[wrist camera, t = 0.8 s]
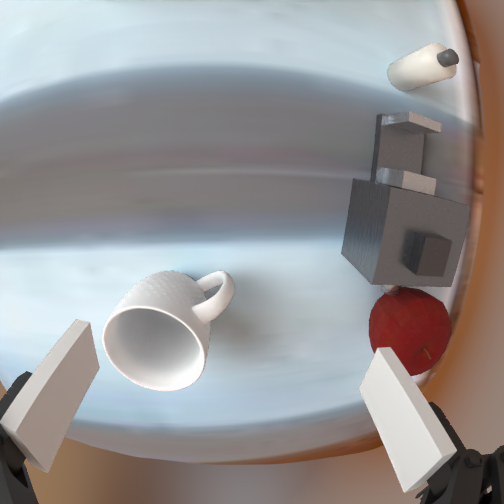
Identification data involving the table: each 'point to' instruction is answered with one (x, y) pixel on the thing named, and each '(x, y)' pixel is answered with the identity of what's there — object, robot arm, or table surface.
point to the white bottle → (423, 67)
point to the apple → (411, 328)
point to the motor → (403, 213)
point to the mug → (165, 328)
